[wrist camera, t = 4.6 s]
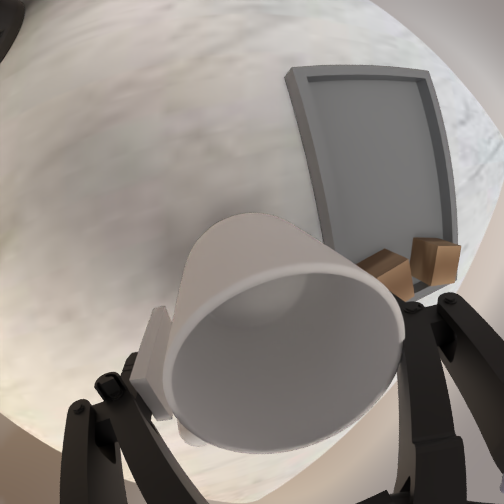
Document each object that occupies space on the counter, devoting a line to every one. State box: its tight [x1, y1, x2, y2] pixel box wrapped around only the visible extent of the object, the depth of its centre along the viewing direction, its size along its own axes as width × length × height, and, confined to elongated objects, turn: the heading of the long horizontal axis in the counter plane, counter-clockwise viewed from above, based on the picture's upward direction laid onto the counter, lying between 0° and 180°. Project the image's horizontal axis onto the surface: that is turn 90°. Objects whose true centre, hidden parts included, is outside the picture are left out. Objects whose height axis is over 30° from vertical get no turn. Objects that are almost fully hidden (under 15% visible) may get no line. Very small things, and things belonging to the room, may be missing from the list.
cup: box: [162, 213, 405, 454], centre depth 13 cm, size 8×12×10 cm
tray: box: [284, 65, 458, 302], centre depth 23 cm, size 24×16×2 cm, turn 14°
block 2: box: [410, 237, 461, 286], centre depth 24 cm, size 4×4×4 cm
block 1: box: [355, 248, 415, 302], centre depth 24 cm, size 4×4×4 cm
